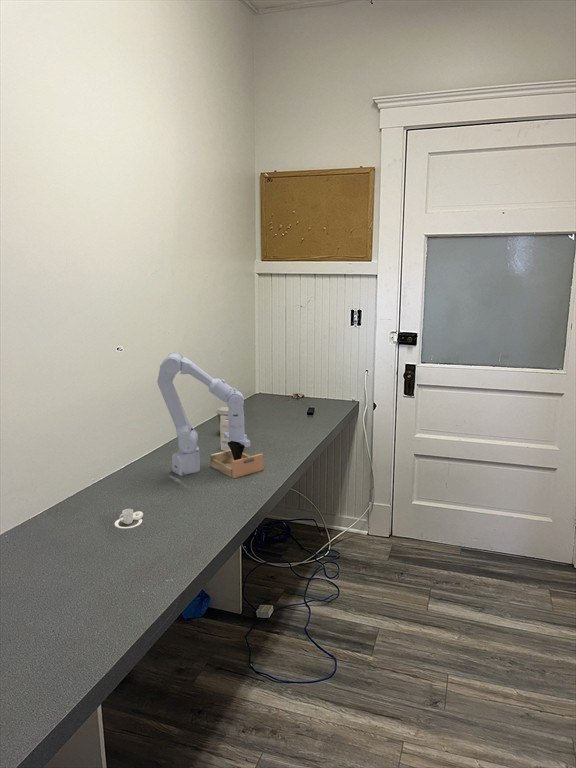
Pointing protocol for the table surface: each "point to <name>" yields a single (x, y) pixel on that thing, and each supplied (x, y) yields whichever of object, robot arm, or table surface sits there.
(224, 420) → the ink cartridge box
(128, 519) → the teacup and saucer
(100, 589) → the table surface
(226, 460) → the tray
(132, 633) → the table surface
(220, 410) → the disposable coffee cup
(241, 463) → the panel
